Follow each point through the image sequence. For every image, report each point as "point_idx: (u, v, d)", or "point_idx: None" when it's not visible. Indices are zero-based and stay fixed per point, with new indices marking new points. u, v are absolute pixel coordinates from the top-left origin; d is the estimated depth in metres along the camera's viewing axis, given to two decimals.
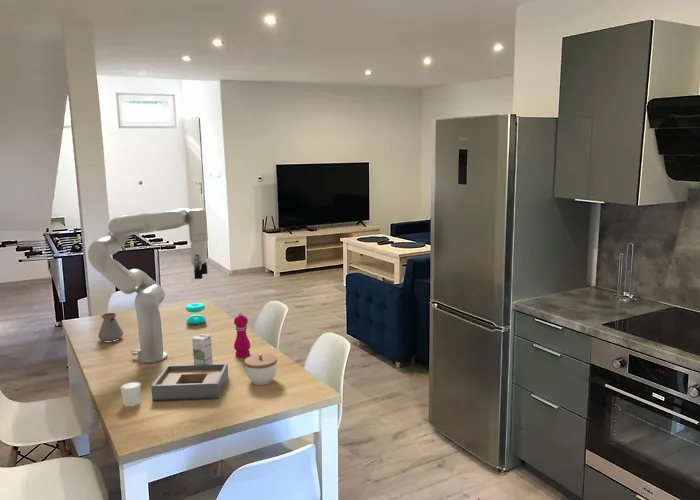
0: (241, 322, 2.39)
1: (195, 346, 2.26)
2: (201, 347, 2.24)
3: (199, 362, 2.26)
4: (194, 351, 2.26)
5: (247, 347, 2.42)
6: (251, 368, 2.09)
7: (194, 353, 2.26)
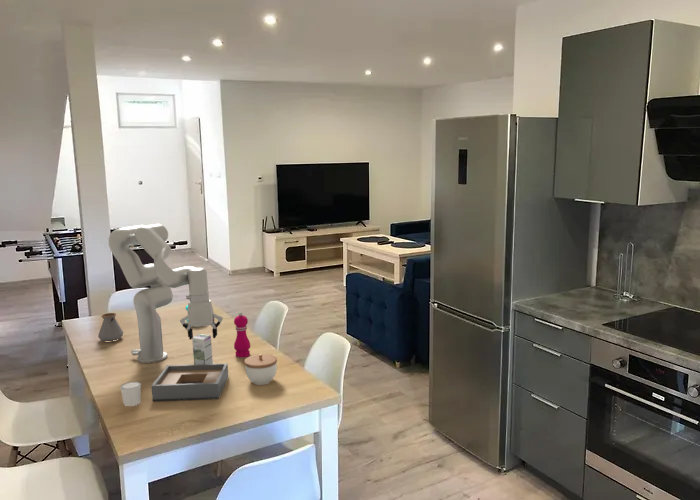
0: (241, 322, 2.39)
1: (195, 346, 2.26)
2: (201, 347, 2.25)
3: (199, 362, 2.26)
4: (194, 351, 2.26)
5: (247, 347, 2.42)
6: (251, 368, 2.09)
7: (194, 353, 2.26)
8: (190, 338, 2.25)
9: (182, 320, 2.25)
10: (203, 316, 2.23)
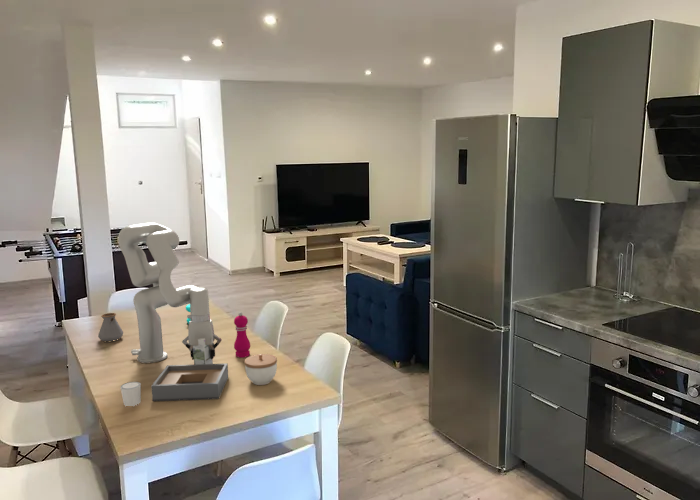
0: (241, 322, 2.39)
1: (195, 346, 2.25)
2: (202, 347, 2.24)
3: (199, 362, 2.26)
4: (194, 351, 2.26)
5: (247, 347, 2.42)
6: (251, 368, 2.09)
7: (194, 353, 2.26)
8: (193, 358, 2.27)
9: (184, 341, 2.27)
10: (204, 336, 2.24)
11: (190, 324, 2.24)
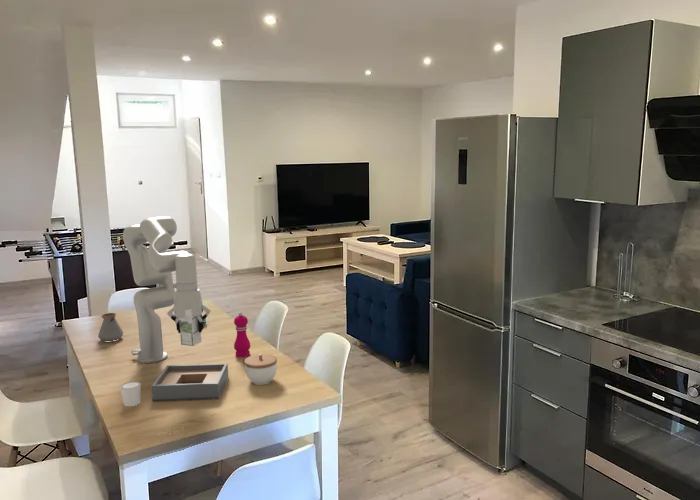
0: (241, 322, 2.39)
1: (182, 318, 2.06)
2: (189, 318, 2.05)
3: (186, 335, 2.06)
4: (180, 323, 2.06)
5: (247, 347, 2.42)
6: (251, 368, 2.09)
7: (181, 325, 2.06)
8: (179, 332, 2.07)
9: (169, 312, 2.07)
10: (191, 306, 2.05)
11: (176, 293, 2.04)
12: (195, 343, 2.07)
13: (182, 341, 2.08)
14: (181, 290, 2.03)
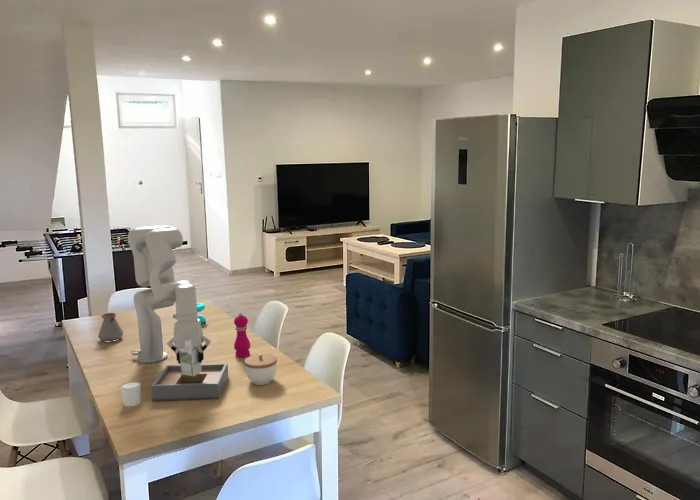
0: (241, 322, 2.39)
1: (182, 349, 2.05)
2: (188, 349, 2.04)
3: (186, 366, 2.06)
4: (180, 354, 2.05)
5: (247, 347, 2.42)
6: (251, 368, 2.09)
7: (180, 356, 2.06)
8: (179, 362, 2.06)
9: (169, 343, 2.06)
10: (191, 337, 2.04)
11: (176, 324, 2.03)
12: (195, 374, 2.07)
13: (182, 371, 2.07)
14: (181, 321, 2.02)
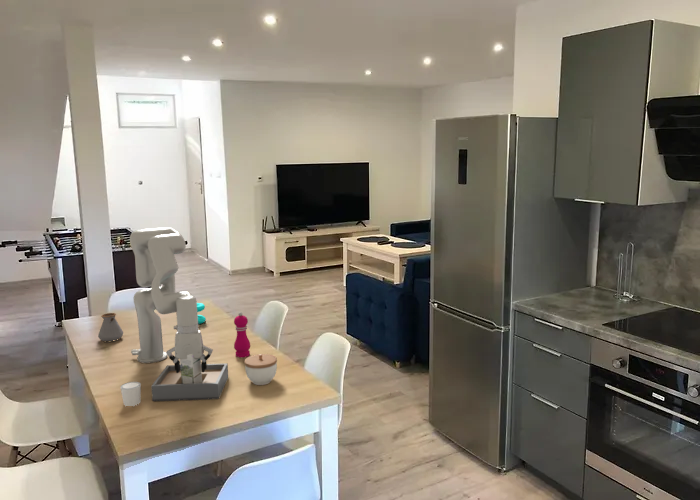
0: (241, 322, 2.39)
1: (183, 362, 2.06)
2: (190, 363, 2.05)
3: (187, 379, 2.07)
4: (182, 367, 2.07)
5: (247, 347, 2.42)
6: (251, 368, 2.09)
7: (182, 369, 2.07)
8: (177, 371, 2.07)
9: (169, 352, 2.06)
10: (191, 348, 2.04)
11: (177, 336, 2.04)
12: None
13: None
14: (182, 333, 2.02)
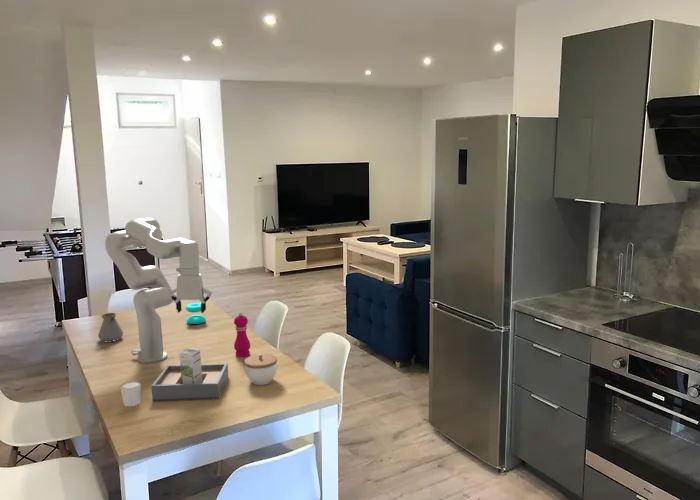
0: (241, 322, 2.39)
1: (183, 362, 2.06)
2: (190, 363, 2.05)
3: (187, 379, 2.07)
4: (182, 367, 2.07)
5: (247, 347, 2.42)
6: (251, 368, 2.09)
7: (182, 369, 2.07)
8: (178, 311, 2.22)
9: (171, 292, 2.22)
10: (192, 290, 2.20)
11: (179, 277, 2.19)
12: None
13: None
14: (183, 274, 2.18)
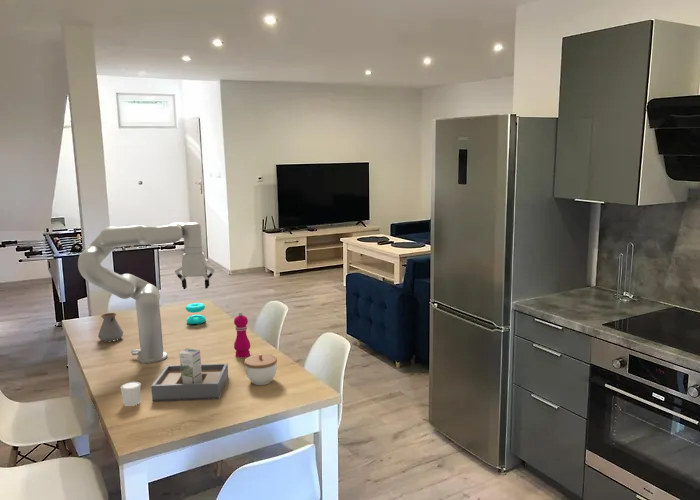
0: (241, 322, 2.39)
1: (183, 362, 2.06)
2: (190, 363, 2.05)
3: (187, 379, 2.07)
4: (182, 367, 2.07)
5: (247, 347, 2.42)
6: (251, 368, 2.09)
7: (182, 369, 2.07)
8: (184, 288, 2.42)
9: (177, 271, 2.42)
10: (196, 267, 2.40)
11: (184, 256, 2.39)
12: None
13: None
14: (188, 253, 2.38)
